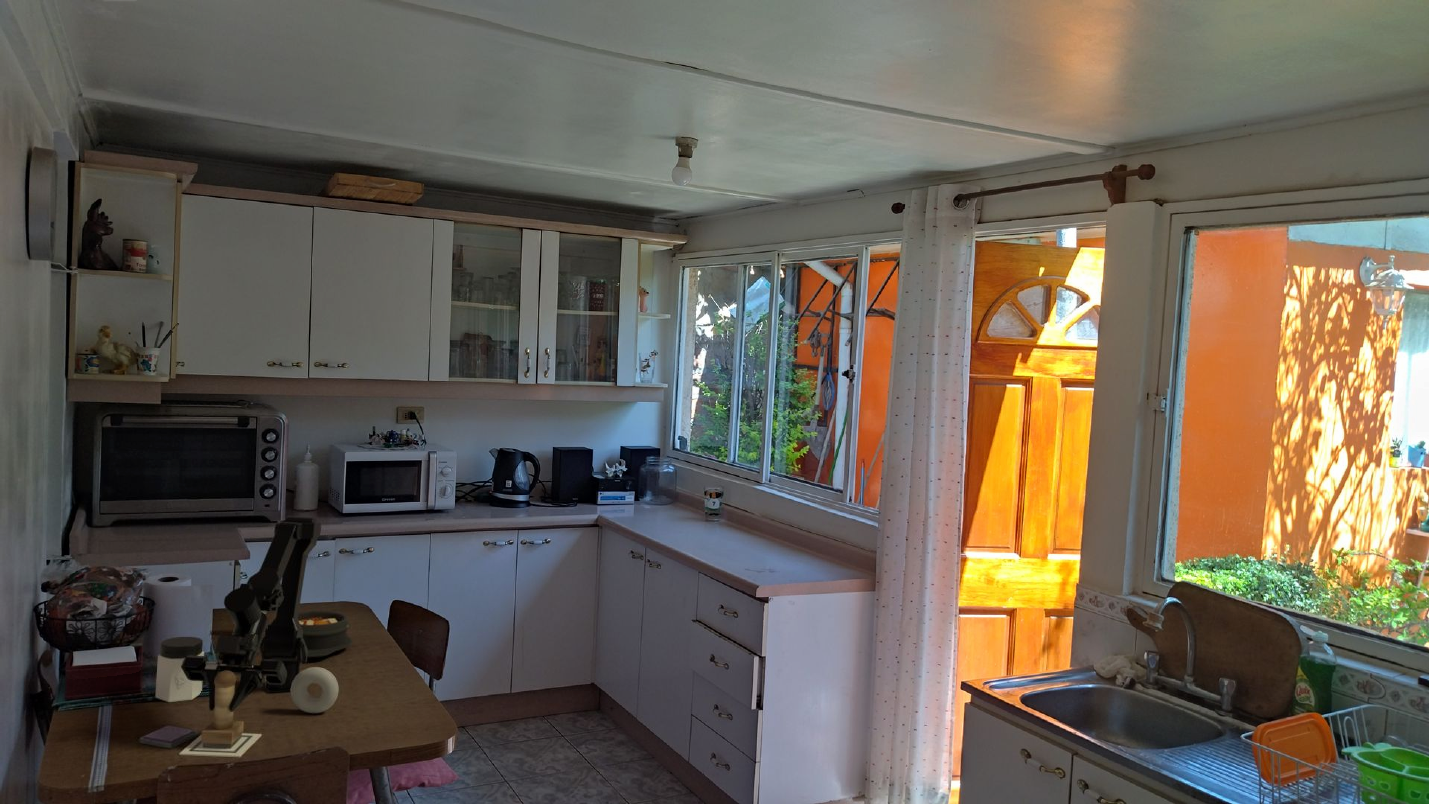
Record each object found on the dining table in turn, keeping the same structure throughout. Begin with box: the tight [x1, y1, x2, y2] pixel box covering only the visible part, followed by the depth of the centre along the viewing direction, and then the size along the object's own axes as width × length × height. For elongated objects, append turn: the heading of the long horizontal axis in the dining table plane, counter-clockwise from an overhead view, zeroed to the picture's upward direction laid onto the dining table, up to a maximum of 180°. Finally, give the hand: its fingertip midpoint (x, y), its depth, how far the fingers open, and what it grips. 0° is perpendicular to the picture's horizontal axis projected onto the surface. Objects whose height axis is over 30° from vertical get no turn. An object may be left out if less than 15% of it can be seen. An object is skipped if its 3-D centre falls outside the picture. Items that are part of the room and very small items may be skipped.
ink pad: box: [139, 725, 199, 749], centre depth 191 cm, size 7×7×1 cm
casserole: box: [298, 610, 353, 658], centre depth 254 cm, size 25×19×8 cm
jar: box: [154, 636, 205, 703], centre depth 214 cm, size 9×8×12 cm
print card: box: [178, 732, 262, 758], centre depth 190 cm, size 11×11×1 cm
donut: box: [289, 666, 340, 714], centre depth 210 cm, size 10×4×10 cm, turn 94°
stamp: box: [201, 670, 245, 749], centre depth 190 cm, size 6×6×14 cm
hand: (220, 710), depth 189 cm, fingers closed on stamp, 3 cm apart
